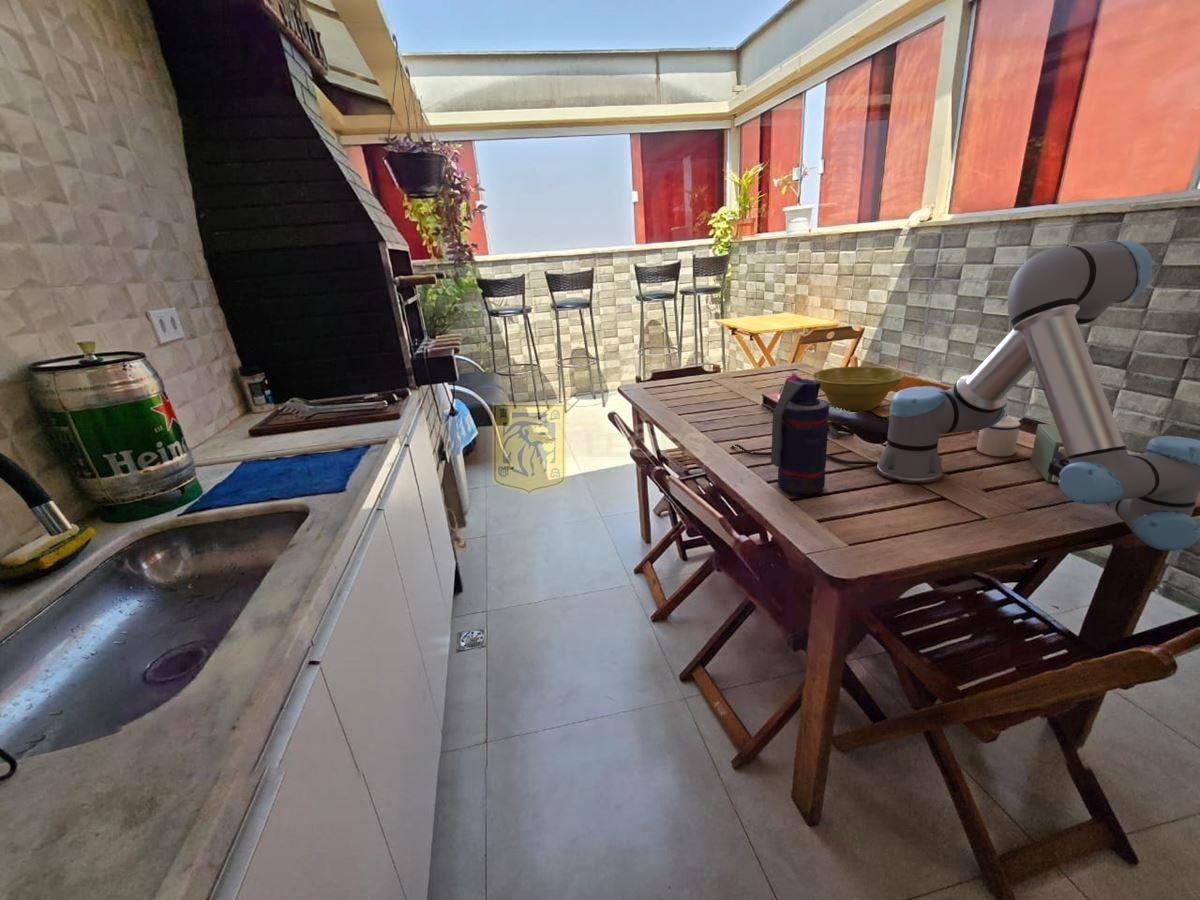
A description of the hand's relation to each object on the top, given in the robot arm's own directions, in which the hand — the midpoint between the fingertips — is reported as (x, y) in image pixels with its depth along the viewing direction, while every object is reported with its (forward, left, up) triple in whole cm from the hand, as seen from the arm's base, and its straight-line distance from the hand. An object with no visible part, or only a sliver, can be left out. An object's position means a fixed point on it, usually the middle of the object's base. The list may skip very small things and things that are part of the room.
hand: (1089, 458), depth 116 cm
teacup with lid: (-14, +23, -8) cm, 28 cm away
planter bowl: (-50, +65, -8) cm, 82 cm away
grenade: (-63, -16, -8) cm, 66 cm away
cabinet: (0, +9, -8) cm, 11 cm away
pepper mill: (-70, +39, +3) cm, 80 cm away
